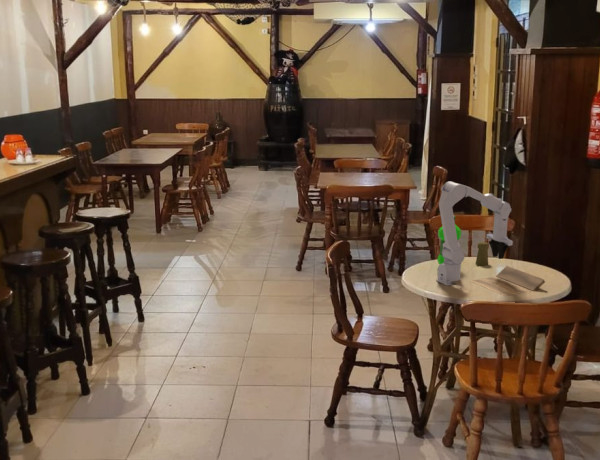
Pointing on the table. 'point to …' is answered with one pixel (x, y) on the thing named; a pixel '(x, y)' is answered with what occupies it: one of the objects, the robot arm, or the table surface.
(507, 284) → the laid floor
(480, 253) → the olive tapered tower
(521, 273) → the loose plank
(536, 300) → the table surface
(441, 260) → the plastic bottle
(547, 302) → the table surface
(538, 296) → the table surface
